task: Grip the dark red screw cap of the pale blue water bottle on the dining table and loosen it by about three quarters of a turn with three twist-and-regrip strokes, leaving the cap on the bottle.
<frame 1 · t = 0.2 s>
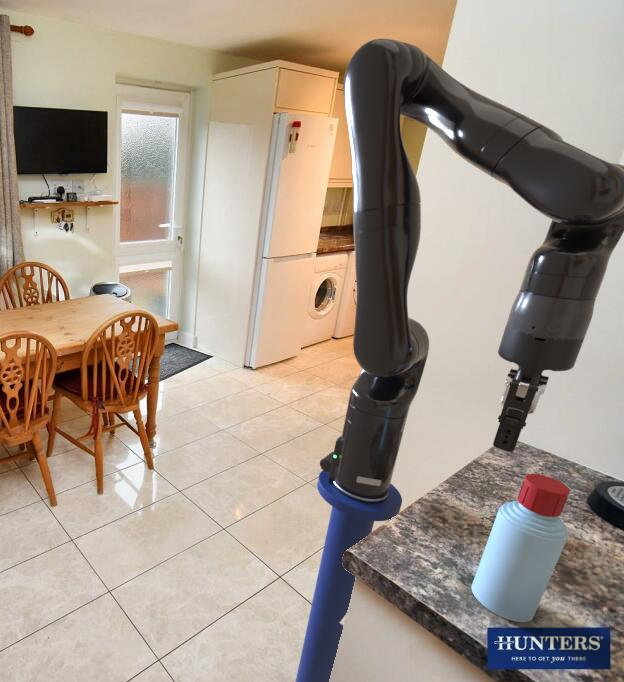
hand: (507, 437, 63), 19 cm above the counter, tool pointing down, fingers open, 8 cm apart
cap: (546, 486, 53), point 18 cm above the counter, screwed on, not yet turned
bottle: (501, 600, 59), on the counter
kiwi fruit: (521, 525, 73), on the counter
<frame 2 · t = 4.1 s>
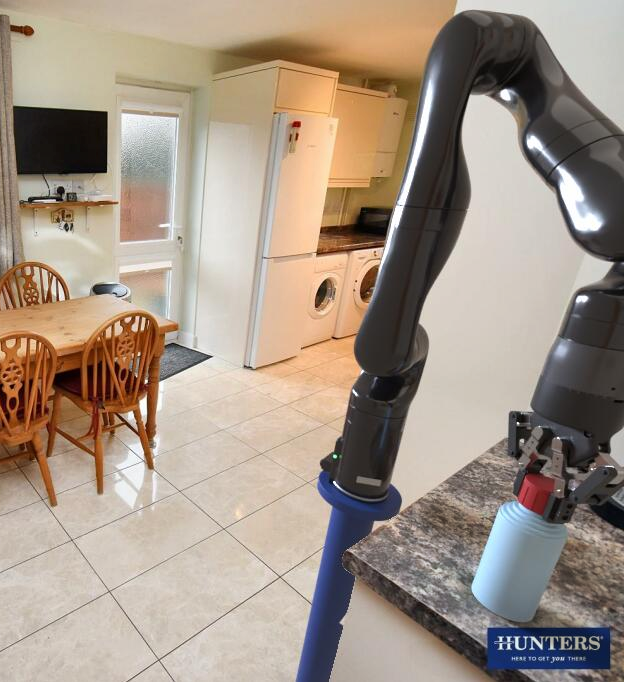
hand: (537, 508, 54), 15 cm above the counter, tool pointing down, fingers closed on cap, 4 cm apart
cap: (546, 486, 53), point 18 cm above the counter, screwed on, not yet turned, touching gripper
everything else where it was.
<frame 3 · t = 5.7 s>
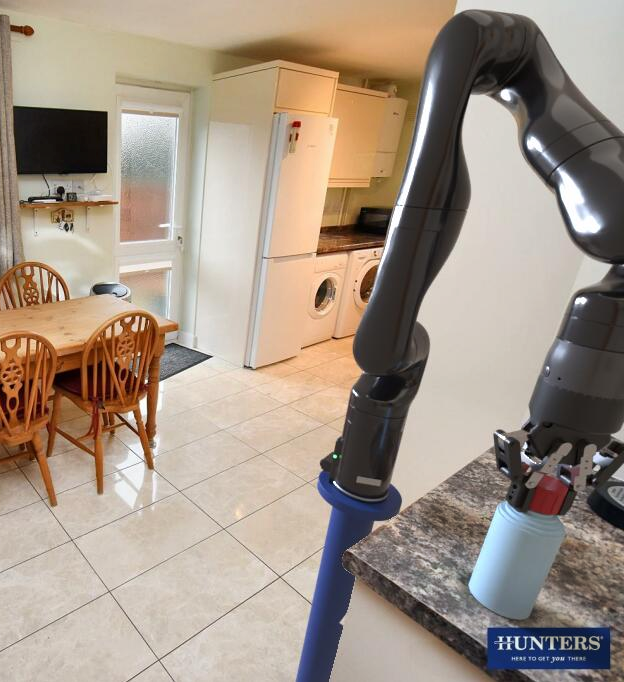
hand: (535, 509, 55), 15 cm above the counter, tool pointing down, fingers closed on cap, 3 cm apart
cap: (544, 484, 53), point 18 cm above the counter, turned 89° so far, risen 0.1 cm, still on its thread, touching gripper
bottle: (498, 597, 59), on the counter, touching gripper
everything else where it was.
when the fingers open (15 cm above the counter, at t = 7.1 s): cap stays where it is, point 18 cm above the counter.
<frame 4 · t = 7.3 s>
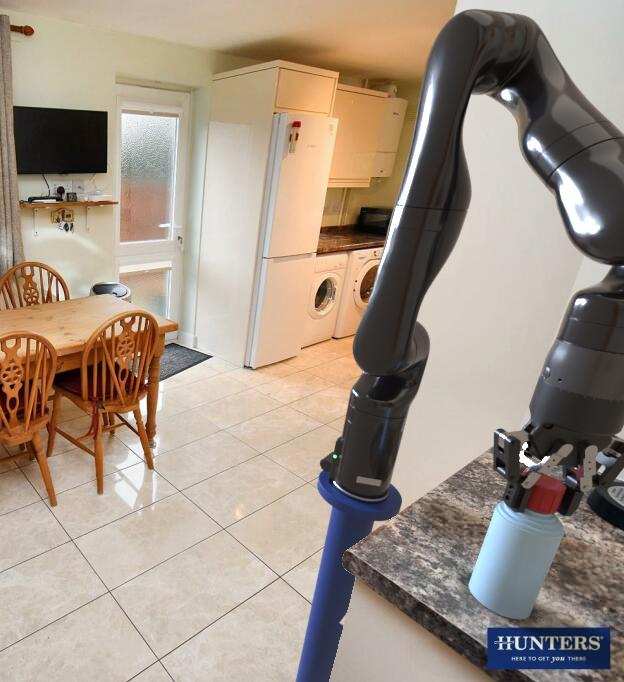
hand: (536, 509, 54), 15 cm above the counter, tool pointing down, fingers open, 4 cm apart
cap: (542, 483, 54), point 18 cm above the counter, turned 89° so far, risen 0.1 cm, still on its thread
bottle: (498, 597, 59), on the counter
everything else where it was.
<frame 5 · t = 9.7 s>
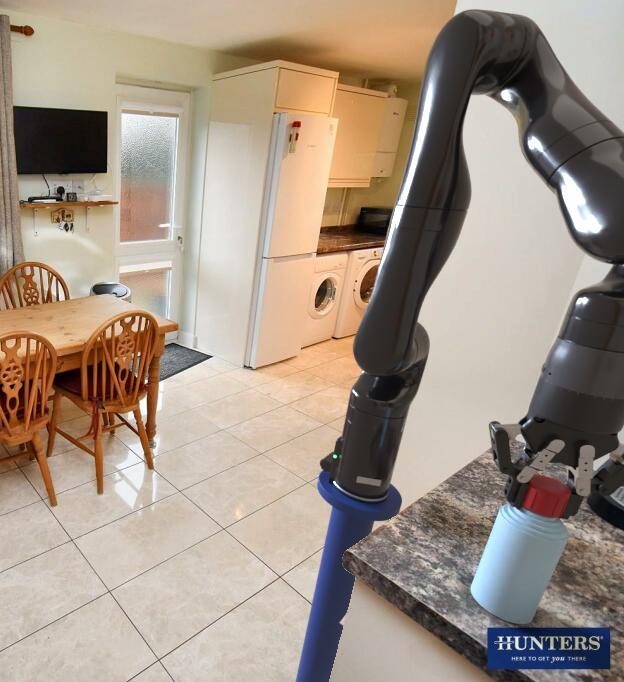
hand: (536, 508, 55), 15 cm above the counter, tool pointing down, fingers closed on bottle, cap, 4 cm apart
cap: (547, 486, 53), point 18 cm above the counter, turned 97° so far, risen 0.1 cm, still on its thread, touching gripper
bottle: (500, 602, 59), on the counter, touching gripper
everything else where it was.
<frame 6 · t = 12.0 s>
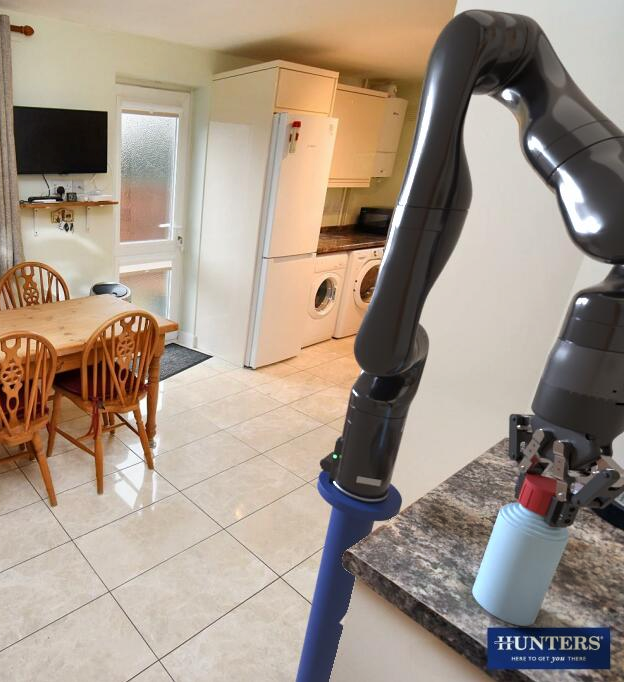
hand: (539, 512, 54), 15 cm above the counter, tool pointing down, fingers closed on cap, 4 cm apart
cap: (546, 486, 53), point 18 cm above the counter, turned 111° so far, risen 0.1 cm, still on its thread, touching gripper
bottle: (502, 603, 59), on the counter, touching gripper
everything else where it was.
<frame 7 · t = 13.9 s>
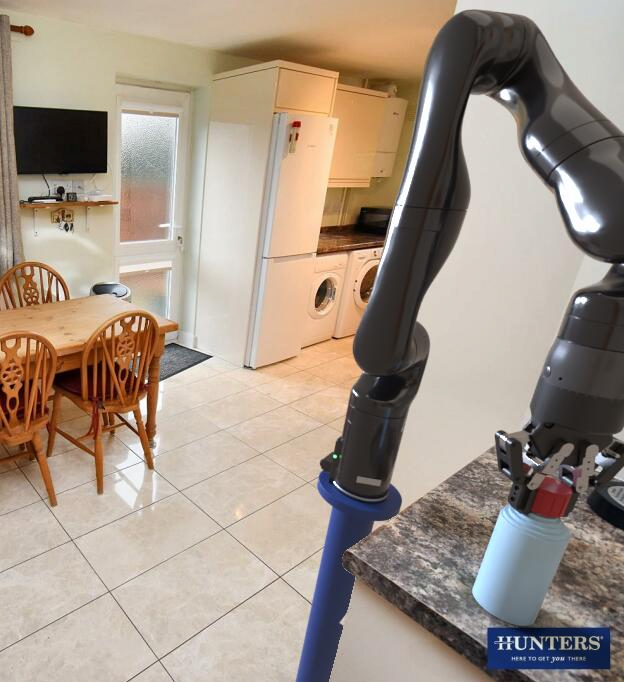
hand: (537, 510, 54), 15 cm above the counter, tool pointing down, fingers closed on cap, 3 cm apart
cap: (548, 486, 53), point 18 cm above the counter, turned 200° so far, risen 0.2 cm, still on its thread, touching gripper
bottle: (502, 604, 59), on the counter
everything else where it was.
when the fingers open (15 cm above the counter, at t = 14.0 s): cap stays where it is, point 18 cm above the counter.
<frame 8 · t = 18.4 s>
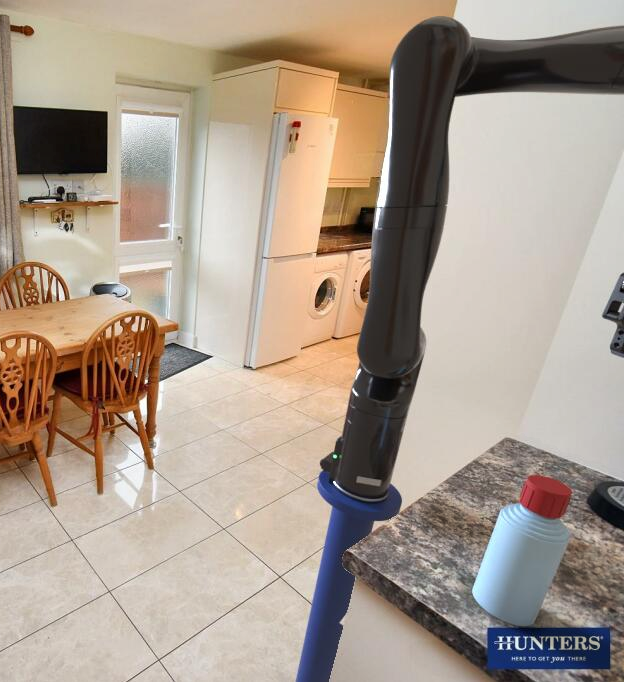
cap: (548, 487, 53), point 18 cm above the counter, turned 200° so far, risen 0.2 cm, still on its thread
everything else where it was.
at the end: cap turned 0.56 turns (still on its thread); cap is still on its thread (0.56 turns); bottle tilted 0° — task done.
